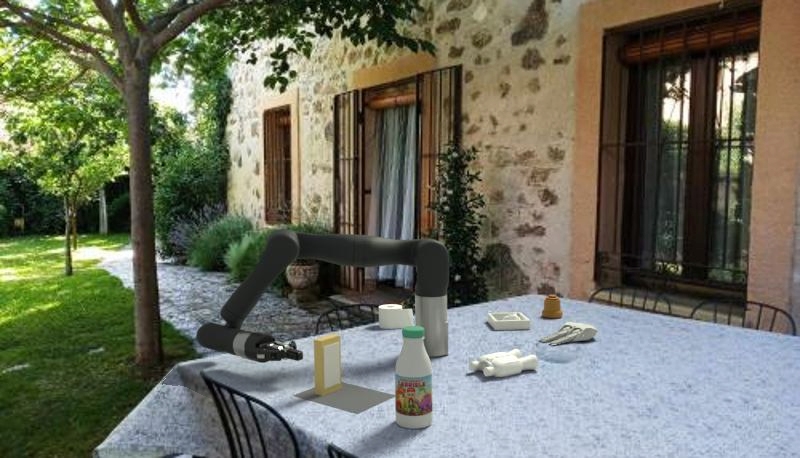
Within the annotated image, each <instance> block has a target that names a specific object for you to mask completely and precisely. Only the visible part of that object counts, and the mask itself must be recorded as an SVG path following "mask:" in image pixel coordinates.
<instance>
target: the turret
mask: <svg viewBox="0 0 800 458" xmlns="http://www.w3.org/2000/svg"><path fill="white" fill-rule="evenodd" d="M598 331H599V330H598V329H597V328H596V327H595V326H594V325H592V324H586V323H579V322H572V321H566V322H565V323H564V324H563V325H562V326H561V327H560V328H559V330H558V331H557V332H554V333H553V334H551V335H548V336H544V337H542V338H539V340H538V342H539V343H543V342H546V343H548V342H549V343H550V344H559V345H562V344H566V343H575V342H576V343H577V342H581V341H590V339H593V338H594V337H595V336H596V335H597V334H598ZM561 343H562V344H561Z"/></svg>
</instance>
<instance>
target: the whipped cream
mask: <svg viewBox="0 0 800 458" xmlns="http://www.w3.org/2000/svg"><path fill="white" fill-rule="evenodd" d="M510 313H511V314H510V315H508V316H505V317H503V318H504V319H503V320H521V319H520V317H518V316H517V314H516V313H515V312H510Z"/></svg>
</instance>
